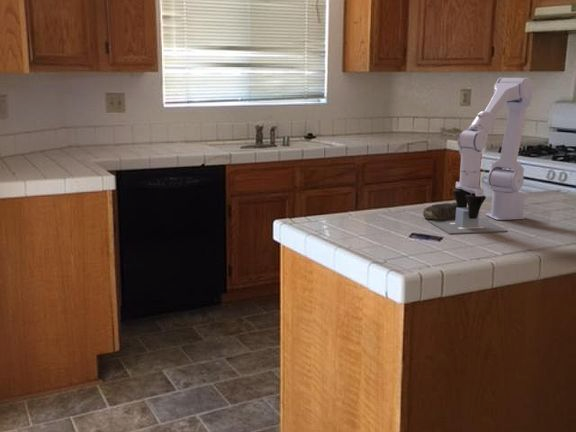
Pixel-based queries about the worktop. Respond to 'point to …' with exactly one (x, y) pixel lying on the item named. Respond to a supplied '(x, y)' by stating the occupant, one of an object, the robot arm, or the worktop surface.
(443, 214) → the rock
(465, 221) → the gray cube
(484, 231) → the letter board
